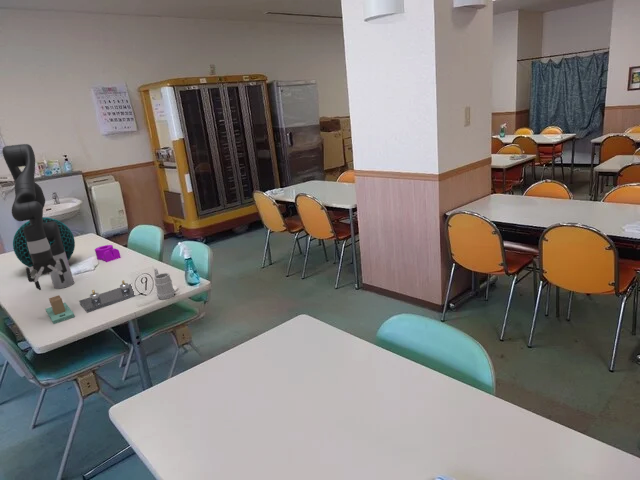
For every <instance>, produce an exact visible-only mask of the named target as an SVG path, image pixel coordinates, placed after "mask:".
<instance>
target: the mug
mask: <svg viewBox="0 0 640 480" xmlns="http://www.w3.org/2000/svg"><path fill="white" fill-rule="evenodd" d="M153 271H154V282H155V283H154V285H155V288H156V296H157V298H158V299H159V298H160V299H159V300H168V298H169V299H171V298H173V297H174V296H175V295H174V294H175V293H176V291H175V289H174V287H173V280H172V279H171V275H170V273H168V272H163V273H159V271H158V269H157V267H156V268H153Z"/></svg>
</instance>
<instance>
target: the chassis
mask: <svg viewBox="0 0 640 480" xmlns="http://www.w3.org/2000/svg"><path fill="white" fill-rule="evenodd" d="M131 284H132V283H130V284H129V283H128V282H127V283H126V282H125V280H123V279H122V280H121V284H120V285H119V287H117V288H114V289H112V290H108V291H105V292H102V293H99V292H96V291H95V289H92V290H91V292H92V293H91V294H89V297H87V298H86V297H85V298H84V299H81V300H78V302H79V304H80V306H81V307H82V308H83V309H84V310H85V311H86V313H90V312H95V311H96V310H99V309H102V308H104V307H108V306H111V305H114V304H116V303H120V302H122V301H125V300H128V299H131V298H134V297H136V296H135V295H134V291H133V289H132V286H131Z"/></svg>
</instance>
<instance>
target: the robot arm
mask: <svg viewBox="0 0 640 480" xmlns="http://www.w3.org/2000/svg"><path fill="white" fill-rule="evenodd" d="M1 152H2V155H3V159H4V162H5V164H6V165H7V168H8V170H9V172H10V175H11V176H12V178H13V180H14V192H15V193H14V195H15V197H14V201H13V204H12V207H11V215H12V218H14V220H15V221H17V222H27V221H30V224H31V225H29V226H27V227H25V228H24V229H23V231H24V235H25V238H26V241H27V245H28V249H29V252H30V256H31V259H32V262H33V266H32V267H28V266H26V267H24V268H25V273H26V277H27V280H28V282H29V283H34V285H35V288H36V289H37V290H39V291H40V290H42V287H41V284H40V282H39V278H40V277H41V276H42V275H45V274H47V273H49V276H50V278H51V281H52V285H53V288H54V289H56V290H57V289H64V288H65V289H66V288H68V287H70V286H73V285H74V284H75V280H74V277H73V273H72V270H71V267H70V263H69V260H67V257H66V253H65V250H64V247H63V244H62V240H61V236H60V231H59V227H58V225H57V223H56V222H54V221H52V222H47V223H43V218H44V216H43V215H44V207H45V204H46V196H45V194H44V192H43V190H42V188H41V186H40V185H39V184H38V183H37V182H35V175H36V156H35V151H34V149H33V148H32V146H31V145H30V144H29V143H20V144H12V145H5V146H3V148H2V151H1ZM20 167H24V168H23V170H21V169H20ZM53 240H54V241H55V242H54V243H53V244H52V245H51V246H50V245H49V242H48V241H53ZM33 271H35V272H36V273H35V274H34V277H32V275H31V274H32V272H33Z"/></svg>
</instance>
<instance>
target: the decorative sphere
mask: <svg viewBox="0 0 640 480" xmlns="http://www.w3.org/2000/svg"><path fill="white" fill-rule="evenodd" d="M52 221H54V222H56V223H57V225H58V227H59V231H60V236H61V240H62V244H63V247H64V250H65V253H66V257H67V260H68V261H69V260H70V259H71V257H72V255H73V254H74V252H75V248H76V241H75V240H76V239H75V237H74V234H73V232H72V230H71V229H70V228H69V227H68V226H67V225H66V224H65V223H63V222H61V220H58V219H56V218H52V217H43V223H47V222H52ZM29 225H31V224H30V221H29V220H27V221H25V222H24V223H23V224H22V225H20V227H18V229H17V230H16V232H15V233H14V235H13V240H12V248H13V252H14V255H15V257H16V258H17V259H18V261H20V262H21V264H23V265H24V266H26V267H32V266H33V262H32V259H31V256H30V252H29V249H28V245H27V241H26V238H25V235H24V231H23V229H24V228H25V227H27V226H29ZM48 242H49V245H50V246H51V245H52V244H53V243H54V242H55V241H54V240H53V241H48Z"/></svg>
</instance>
